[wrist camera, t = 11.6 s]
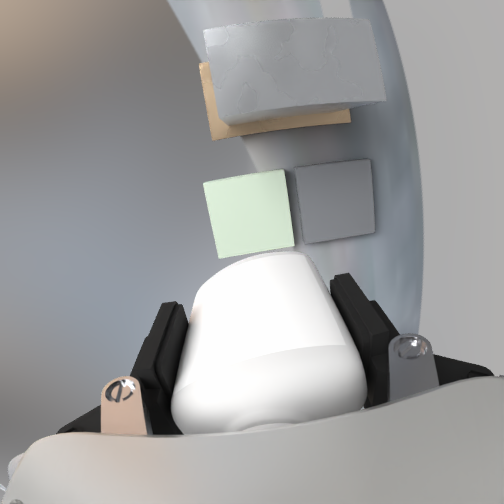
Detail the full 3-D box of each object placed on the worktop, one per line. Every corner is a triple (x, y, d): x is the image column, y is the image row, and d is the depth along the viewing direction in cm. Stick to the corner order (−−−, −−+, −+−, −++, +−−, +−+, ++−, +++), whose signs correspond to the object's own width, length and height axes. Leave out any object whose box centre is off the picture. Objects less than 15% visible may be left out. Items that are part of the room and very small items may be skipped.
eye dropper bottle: (201, 236, 13) (109, 534, 2) (325, 252, 14) (469, 503, 3) (195, 319, 15) (150, 568, 4) (304, 330, 15) (367, 562, 4)
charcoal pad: (293, 167, 26) (295, 168, 25) (366, 158, 26) (370, 159, 25) (303, 240, 29) (305, 244, 28) (371, 229, 29) (375, 232, 28)
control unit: (200, 66, 23) (172, 21, 12) (333, 51, 22) (388, 7, 12) (213, 140, 25) (192, 142, 14) (346, 122, 25) (411, 118, 14)
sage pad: (204, 182, 27) (203, 183, 26) (282, 168, 26) (284, 169, 25) (219, 254, 29) (219, 258, 28) (292, 242, 29) (294, 246, 28)
